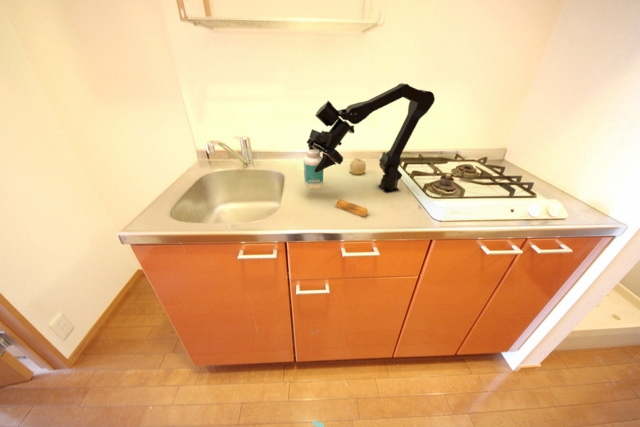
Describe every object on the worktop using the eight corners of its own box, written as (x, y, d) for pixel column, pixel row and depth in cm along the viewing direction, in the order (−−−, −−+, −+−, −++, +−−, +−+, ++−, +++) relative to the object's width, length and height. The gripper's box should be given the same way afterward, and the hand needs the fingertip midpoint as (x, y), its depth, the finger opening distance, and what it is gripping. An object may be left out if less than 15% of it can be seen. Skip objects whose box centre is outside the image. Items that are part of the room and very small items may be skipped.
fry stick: (336, 206, 87) (336, 201, 86) (339, 204, 89) (339, 198, 87) (364, 217, 81) (365, 211, 80) (367, 214, 83) (368, 208, 82)
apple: (349, 168, 119) (358, 155, 116) (361, 177, 117) (370, 165, 114) (344, 168, 112) (353, 155, 109) (357, 178, 110) (366, 165, 107)
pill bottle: (326, 185, 90) (327, 151, 83) (311, 190, 86) (310, 156, 79) (315, 178, 95) (315, 146, 88) (301, 183, 91) (299, 150, 84)
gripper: (310, 116, 86) (285, 149, 88) (337, 125, 73) (308, 165, 74) (327, 134, 94) (304, 165, 95) (355, 146, 80) (328, 181, 82)
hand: (310, 168), depth 86 cm, fingers closed on pill bottle, 7 cm apart
